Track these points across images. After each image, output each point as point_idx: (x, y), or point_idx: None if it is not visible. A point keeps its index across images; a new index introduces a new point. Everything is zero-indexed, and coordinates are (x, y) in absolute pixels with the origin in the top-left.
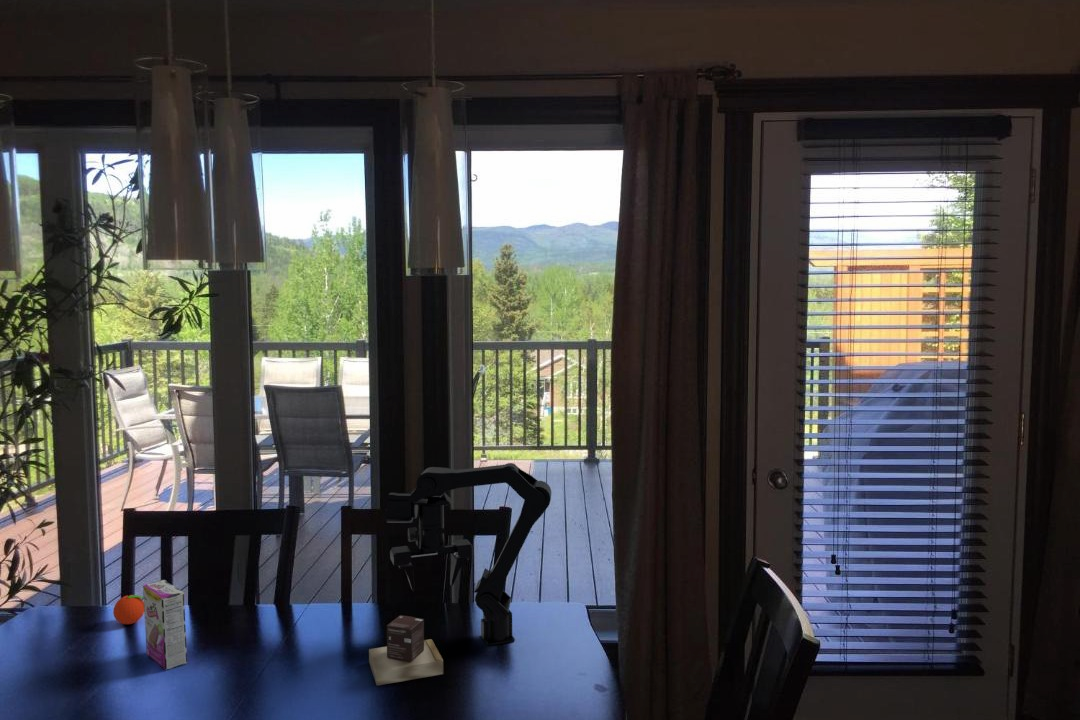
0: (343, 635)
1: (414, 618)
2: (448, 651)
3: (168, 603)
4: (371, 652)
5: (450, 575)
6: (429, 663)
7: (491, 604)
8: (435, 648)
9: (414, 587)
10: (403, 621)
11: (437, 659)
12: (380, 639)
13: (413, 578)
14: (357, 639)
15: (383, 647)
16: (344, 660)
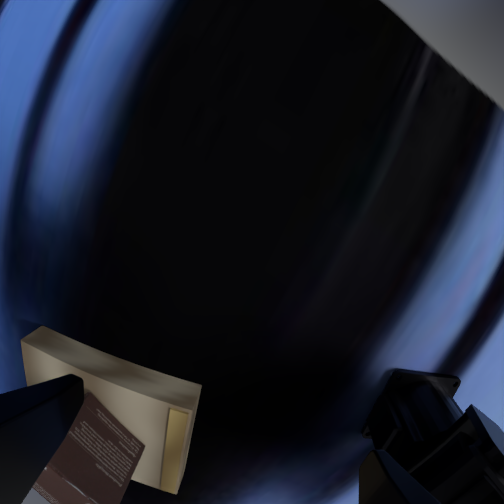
0: (29, 114)
1: (83, 499)
2: (248, 405)
3: None
4: (25, 359)
5: (393, 495)
6: (144, 482)
7: None
8: (178, 458)
9: (71, 425)
10: (50, 487)
11: (164, 489)
12: (92, 200)
13: (27, 488)
14: (44, 162)
15: (50, 358)
16: (3, 273)
